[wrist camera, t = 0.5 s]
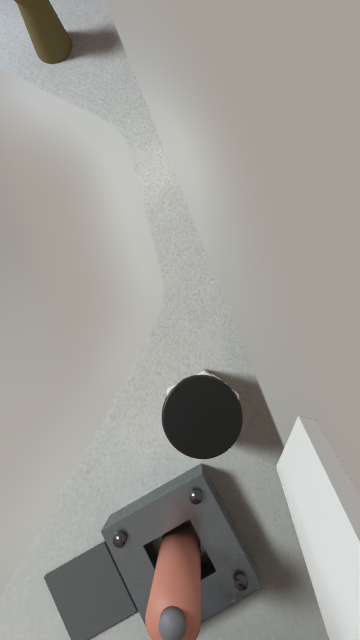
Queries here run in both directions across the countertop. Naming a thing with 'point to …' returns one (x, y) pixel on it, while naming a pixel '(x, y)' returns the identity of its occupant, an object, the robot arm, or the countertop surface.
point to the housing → (167, 513)
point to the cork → (45, 30)
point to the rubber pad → (90, 593)
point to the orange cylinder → (176, 587)
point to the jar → (202, 415)
